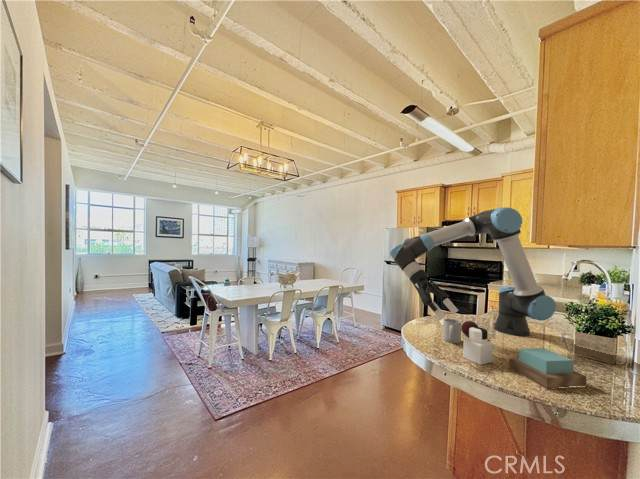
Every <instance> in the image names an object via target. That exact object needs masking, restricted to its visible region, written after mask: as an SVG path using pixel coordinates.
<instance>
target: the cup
mask: <svg viewBox="0 0 640 479" xmlns="http://www.w3.org/2000/svg"><path fill="white" fill-rule="evenodd" d="M461 326H462V321H460V320H458V319H455V318H444V319H443V326H442V329H443V330H442V339H443V340H444V342H447V343H450V344H460V343H461V341H462V330H461Z"/></svg>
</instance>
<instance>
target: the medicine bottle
mask: <svg viewBox="0 0 640 479" xmlns="http://www.w3.org/2000/svg"><path fill="white" fill-rule="evenodd" d="M488 334H489V332H488V330H487V329H485V328H483V327H479V326H478V327H470V328H469V336H468V338H464V339H463V343H462V344H463V345H462V348H463V349H462V358H463V359H465V360H468V361H470V362H473V363H475V364H477V365H479V366H482V365H485V364H490V363H493V355H494V354H493V353H494V349H493V348H494V343H492V342H491V341H488Z"/></svg>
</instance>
